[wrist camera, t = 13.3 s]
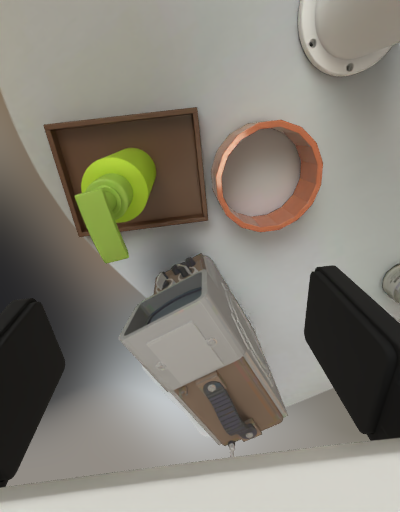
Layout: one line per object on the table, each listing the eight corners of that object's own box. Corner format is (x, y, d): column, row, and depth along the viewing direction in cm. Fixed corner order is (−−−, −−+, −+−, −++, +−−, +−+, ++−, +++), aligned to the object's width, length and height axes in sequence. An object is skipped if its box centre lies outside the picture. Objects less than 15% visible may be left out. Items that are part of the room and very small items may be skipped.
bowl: (207, 128, 35) (212, 128, 31) (308, 116, 36) (327, 114, 31) (215, 225, 41) (220, 237, 37) (302, 214, 42) (317, 224, 37)
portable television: (196, 229, 41) (239, 423, 14) (258, 333, 51) (354, 566, 24) (129, 266, 43) (52, 504, 16) (201, 360, 52) (232, 607, 25)
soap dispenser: (123, 205, 38) (77, 273, 20) (104, 154, 35) (32, 180, 17) (163, 194, 38) (154, 254, 20) (148, 142, 35) (121, 157, 17)
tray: (49, 125, 34) (42, 124, 32) (195, 108, 34) (197, 107, 33) (83, 232, 40) (78, 237, 38) (206, 216, 40) (208, 220, 39)
